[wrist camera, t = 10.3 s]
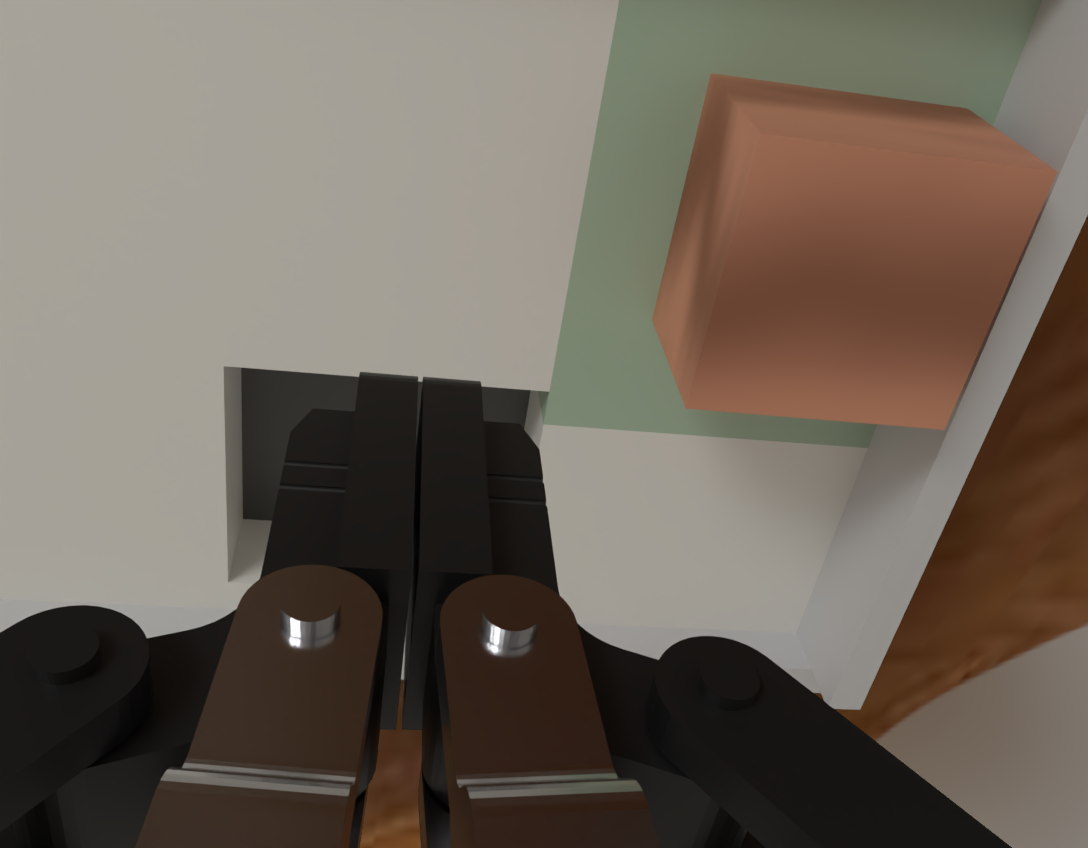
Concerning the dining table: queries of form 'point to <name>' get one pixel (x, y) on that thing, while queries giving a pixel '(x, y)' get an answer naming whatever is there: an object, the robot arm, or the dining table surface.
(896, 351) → the block
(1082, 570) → the dining table surface
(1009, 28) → the box
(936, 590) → the dining table surface
